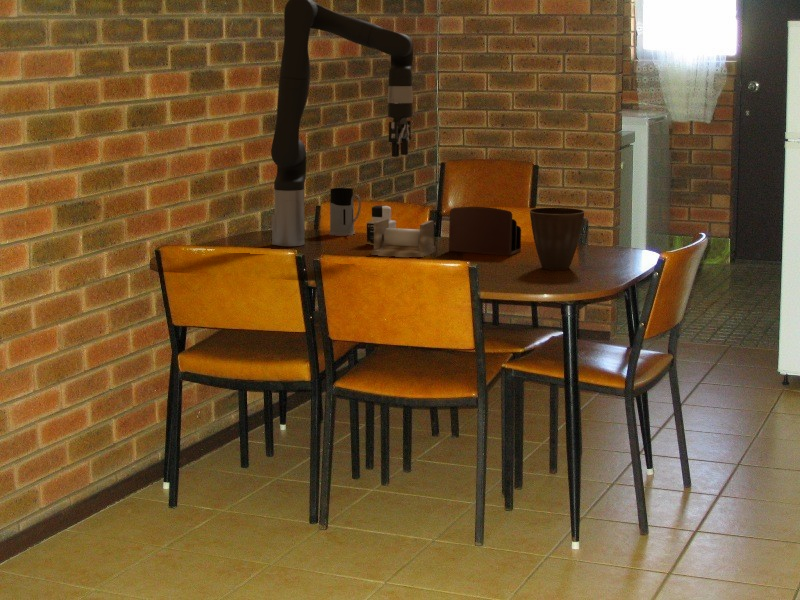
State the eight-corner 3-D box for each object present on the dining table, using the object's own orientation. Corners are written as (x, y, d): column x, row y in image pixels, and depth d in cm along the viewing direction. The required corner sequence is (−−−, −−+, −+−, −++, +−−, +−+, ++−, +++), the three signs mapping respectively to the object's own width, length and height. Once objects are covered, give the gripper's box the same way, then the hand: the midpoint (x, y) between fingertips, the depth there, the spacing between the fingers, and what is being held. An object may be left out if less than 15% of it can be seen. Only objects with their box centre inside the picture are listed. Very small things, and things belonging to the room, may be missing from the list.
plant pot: (581, 273, 326) (583, 214, 323) (526, 271, 328) (527, 213, 326) (583, 264, 340) (585, 208, 337) (530, 263, 343) (531, 207, 340)
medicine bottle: (366, 244, 378) (366, 206, 376) (375, 241, 384) (375, 204, 382) (387, 246, 375) (387, 207, 373) (396, 243, 382) (396, 205, 379)
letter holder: (510, 256, 357) (511, 208, 354) (448, 252, 364) (448, 205, 362) (521, 251, 366) (522, 205, 363) (459, 247, 373) (460, 202, 371)
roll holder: (371, 255, 356) (371, 223, 354) (386, 248, 369) (387, 217, 367) (421, 258, 351) (421, 225, 349) (435, 251, 364) (435, 220, 362)
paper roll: (383, 247, 359) (383, 229, 358) (390, 244, 364) (389, 226, 363) (418, 249, 355) (418, 231, 354) (424, 246, 360) (424, 228, 359)
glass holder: (344, 231, 408) (344, 187, 405) (370, 236, 397) (370, 190, 394) (323, 233, 402) (323, 188, 400) (349, 238, 392) (349, 192, 389)
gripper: (395, 100, 371) (395, 154, 374) (380, 102, 358) (380, 157, 361) (419, 101, 369) (418, 154, 372) (404, 102, 356) (404, 157, 359)
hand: (399, 155), depth 366 cm, fingers open, 8 cm apart
